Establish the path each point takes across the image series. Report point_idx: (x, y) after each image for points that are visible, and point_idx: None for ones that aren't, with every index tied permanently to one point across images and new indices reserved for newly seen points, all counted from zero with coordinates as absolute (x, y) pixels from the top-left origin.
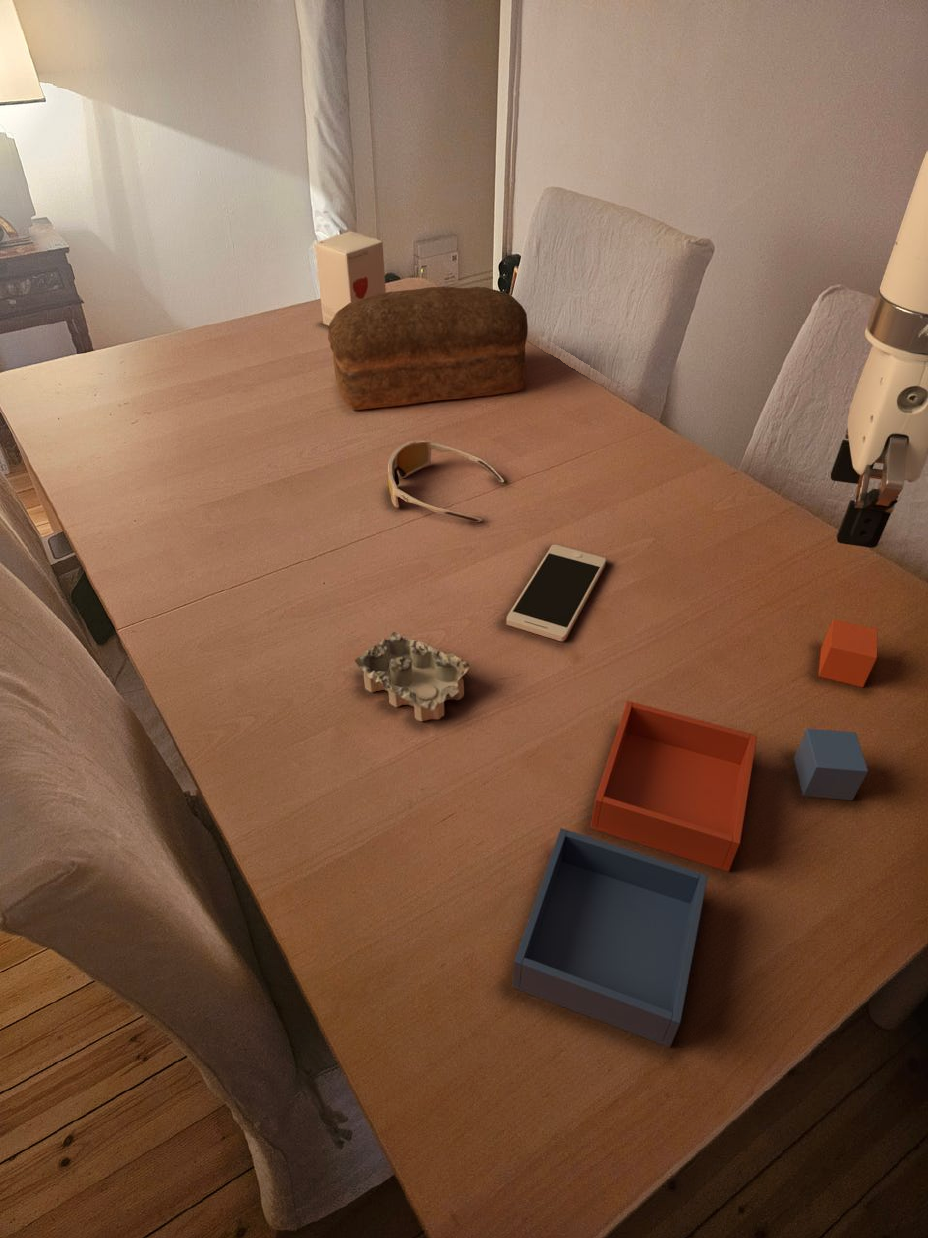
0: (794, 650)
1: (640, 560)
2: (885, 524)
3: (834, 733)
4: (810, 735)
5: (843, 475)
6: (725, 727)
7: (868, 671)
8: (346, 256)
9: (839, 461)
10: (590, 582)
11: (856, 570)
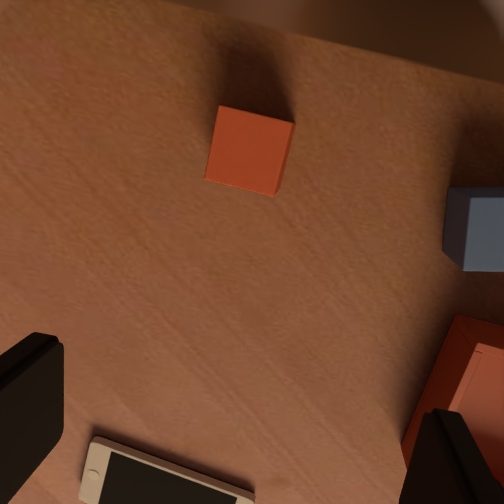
0: (227, 211)
1: (77, 391)
2: (499, 491)
3: (473, 231)
4: (478, 268)
5: (49, 426)
6: (462, 381)
7: (293, 126)
8: None
9: (13, 494)
10: (145, 464)
11: (19, 75)
